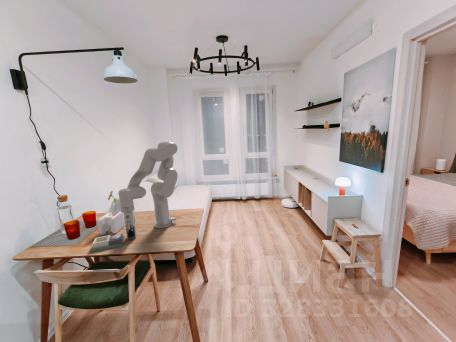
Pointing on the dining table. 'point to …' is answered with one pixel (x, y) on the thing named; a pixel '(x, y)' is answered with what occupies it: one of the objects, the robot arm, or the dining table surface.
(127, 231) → the plug
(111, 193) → the flower in vase
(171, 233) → the dining table surface
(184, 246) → the dining table surface
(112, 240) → the header board
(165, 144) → the robot arm
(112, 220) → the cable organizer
